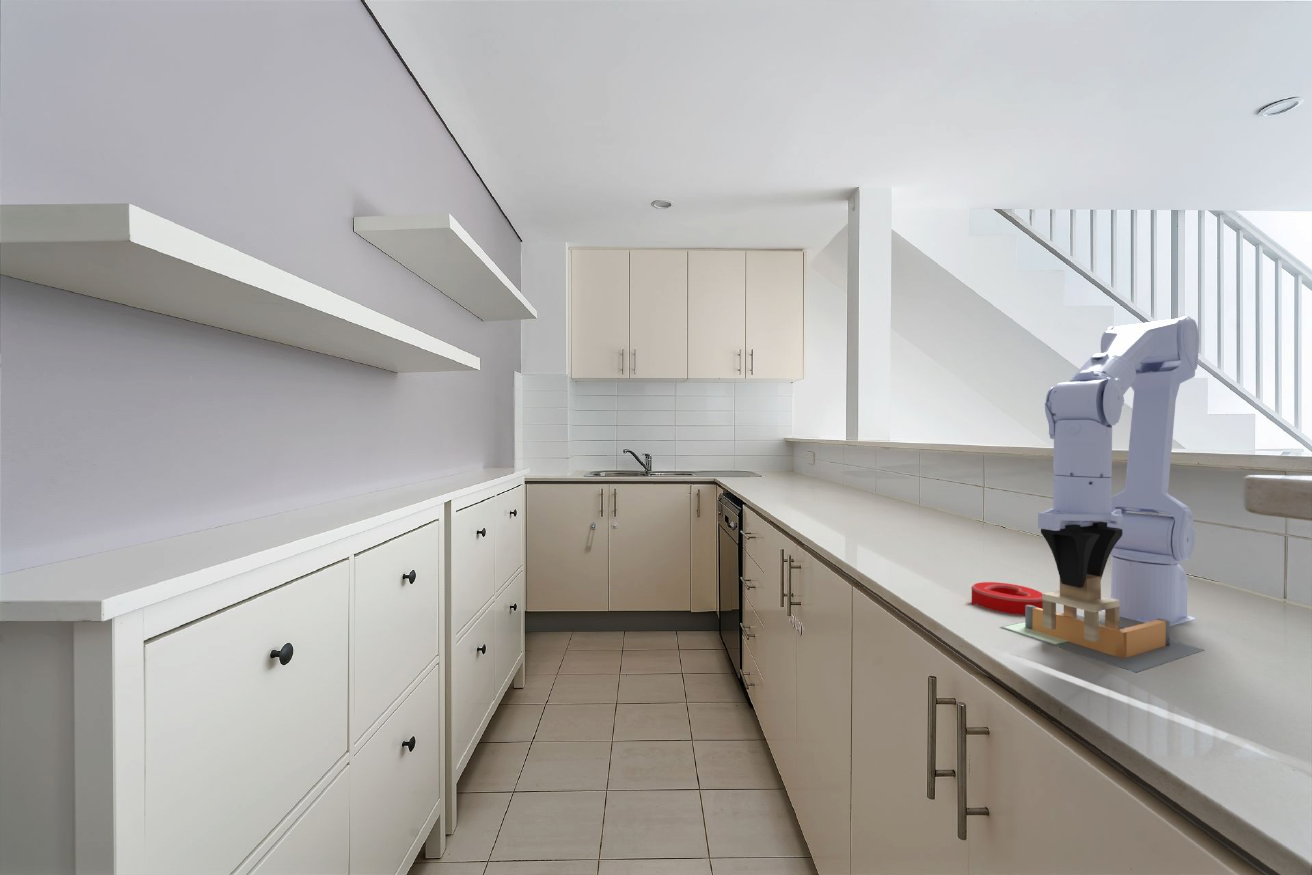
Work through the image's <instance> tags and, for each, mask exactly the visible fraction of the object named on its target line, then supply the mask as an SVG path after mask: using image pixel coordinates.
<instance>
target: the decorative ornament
mask: <svg viewBox="0 0 1312 875" xmlns="http://www.w3.org/2000/svg"><path fill="white" fill-rule="evenodd" d="M971 605H972V606H973V605H974V606H976V605H977V606H979V607H982V608H984V609H985V608H986V609H988V610H991V611H995V612H1001V613H1004V614H1011V615H1012V614H1013V615H1019V616H1020V615H1023V616H1025V609H1026V605H1032V606H1035V607H1038V608H1041V609H1043V593H1042V592H1041V591H1038V590H1037V589H1033V588H1030V587H1028V586H1023V585H1018V584H1013V583H1007V582H1006V583H1005V582H994V581H992V582H991V581H984V582H983V581H982V582H976V583H974V584H973V585H972V586H971Z"/></svg>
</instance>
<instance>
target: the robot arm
mask: <svg viewBox="0 0 1312 875" xmlns="http://www.w3.org/2000/svg"><path fill="white" fill-rule="evenodd" d="M1197 324H1198V323H1197V322H1196V320H1194V319H1193V318H1191V317H1190V315H1189V316H1188V315H1186V316H1182V317H1179V318H1173V319H1165V320H1164V319H1163V320H1157V321H1150V322H1143V323H1136V324H1127V325H1120V326H1117V325H1114V326H1113V325H1112V326H1109V327H1107V328H1106V329H1105V331H1103V333H1102V334H1101V338H1100V353H1095V354H1092V356H1091V357H1090V358H1089V359H1088V360H1087V361H1086V362H1084V364H1083V365H1082V366H1081V367H1080V368H1079V369H1078V371H1077V372H1076V373H1075V374H1074V375H1073V376H1072V377H1071V378H1070V379H1069V381H1066V382H1065V381H1063V382H1058V383H1057V384H1056V385H1055V386H1052V387H1050V388H1049V390H1047V394H1046V397H1045V402H1044V412H1045V417H1046V421H1047V424H1048V435H1049V438H1050V439H1052V440H1053V464H1052V465H1053V468H1052V469H1053V471H1052V472H1053V473H1052V474H1053V477H1052V480H1053V482H1052V483H1053V484H1052V488H1053V489H1052V508H1050V509H1047V510H1046V511H1042V512H1038V513H1037V514H1038V517H1037V519H1038V520H1037V528H1038V529H1040V534H1041V535H1042V537H1043V538H1044V539H1045V541H1046V543H1047V544H1048V546H1049V549H1050V550H1051V553H1052V554H1053V555H1052V556H1053V558H1054V561H1055V564H1056V569H1057V573H1058V575H1059V580H1060V579H1061V582H1062V584H1065V585H1069V586H1074V587H1078V588H1082V587H1083V586H1084V583H1085V580H1086V574H1089V575H1094V576H1099V577H1101V579H1102V577H1103V574H1104V571H1105V568H1106V565H1107V563H1108V560H1109V557H1110V556H1111V557H1110V558H1111V559H1110V562H1111V563H1110V568H1111V569H1110V572H1111V573H1110V598H1112V599H1116V600H1119V617H1121V618H1126V619H1129V620H1132V621H1137V622H1140V623H1147V622H1151V621H1155V620H1157V619H1165V620H1169V621H1170V627H1172V626H1176V625H1179V624H1182V623H1183V624H1184V623H1186V622H1189V621H1194V620H1196V618H1195V617H1193V616H1188V575H1187V573H1186V571H1185V569H1184V568H1183V567H1182V565H1180V564H1179V563H1182V562H1186V561H1187V560H1188V559H1190V558H1191V557H1192V555H1193V553H1194V549H1195V544H1196V543H1195V539H1196V537H1195V535H1196V533H1195V527H1194V514H1193V513H1192V510H1191V508H1190V507H1189V506H1188V505H1186V504H1185V503H1183V502H1181V501H1180V500H1179V499H1178V498H1175V497H1174V496H1172V495H1171V494H1169V484H1170V474H1171V473H1170V471H1171V463H1172V462H1171V460H1172V448H1173V438H1174V426H1175V425H1174V424H1175V423H1174V422H1175V413H1176V402H1177V398H1178V394H1179V389H1180V385H1181V384H1182V383H1185V382H1186V381H1188V380H1191V379H1193V378H1195V376H1196V370H1197V368H1198V362H1199V351H1200V350H1199V347H1200V337H1199V328H1198V325H1197ZM1130 388H1131V389H1132V391H1133V399H1132V400H1133V401H1132V411H1131V412H1132V413H1131V421H1130V430H1129V431H1130V433H1129V440H1128V441H1129V444H1128V452H1127V462H1126V464H1127V465H1126V474H1125V484H1124V485H1125V486H1124V489H1123V490H1122V491H1120V492H1118V493H1116V494H1114V495H1112V487H1113V486H1112V479H1113V477H1112V476H1113V473H1112V471H1113V470H1112V469H1113V467H1112V466H1113V458H1112V457H1113V426H1115V425H1117V424H1118V423H1119V421H1120V418H1121V415H1122V410H1123V409H1122V408H1123V406H1124V404H1125V395H1126V393H1127V391H1128V390H1129V389H1130ZM1134 512H1135V513H1134ZM1136 512H1137V513H1136ZM1157 514H1158V515H1157ZM1159 514H1160V515H1159ZM1165 515H1166V516H1165ZM1168 515H1170V516H1168ZM1100 612H1102V613H1105V610H1102V611H1100Z"/></svg>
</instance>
